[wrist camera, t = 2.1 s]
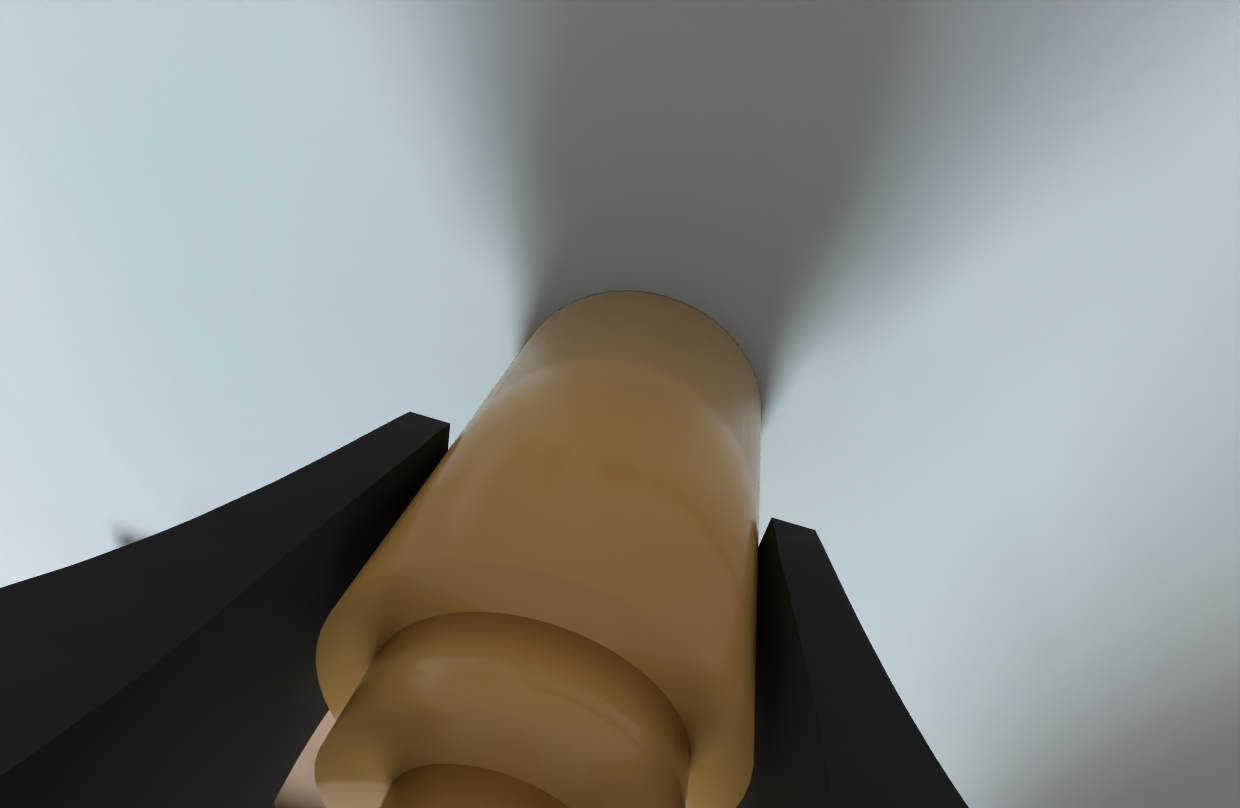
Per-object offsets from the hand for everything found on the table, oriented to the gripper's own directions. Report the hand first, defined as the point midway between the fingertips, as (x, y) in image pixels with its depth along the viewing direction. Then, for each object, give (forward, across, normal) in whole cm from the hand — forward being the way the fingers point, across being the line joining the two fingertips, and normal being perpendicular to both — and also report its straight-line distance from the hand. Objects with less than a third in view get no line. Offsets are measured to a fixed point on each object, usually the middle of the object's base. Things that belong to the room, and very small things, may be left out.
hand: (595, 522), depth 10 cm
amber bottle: (+3, 0, 0) cm, 3 cm away
